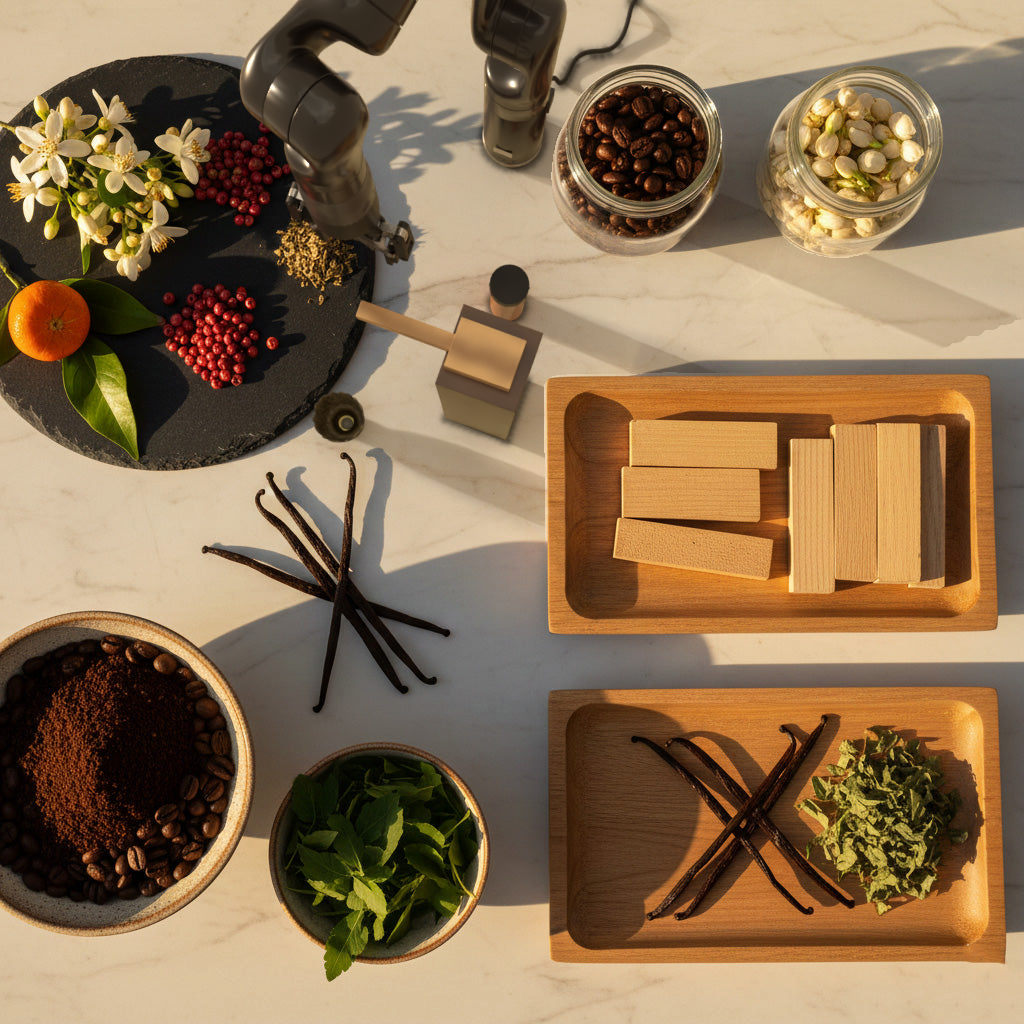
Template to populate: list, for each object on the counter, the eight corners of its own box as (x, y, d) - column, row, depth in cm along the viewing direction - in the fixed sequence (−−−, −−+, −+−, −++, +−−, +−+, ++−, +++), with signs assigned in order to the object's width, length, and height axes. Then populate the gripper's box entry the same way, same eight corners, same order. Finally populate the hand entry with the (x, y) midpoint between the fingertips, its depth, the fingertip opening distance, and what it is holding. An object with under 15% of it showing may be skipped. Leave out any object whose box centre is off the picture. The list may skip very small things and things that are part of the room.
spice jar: (496, 283, 125) (498, 262, 115) (528, 295, 125) (532, 274, 115) (485, 314, 125) (486, 295, 115) (516, 326, 125) (520, 308, 115)
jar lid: (497, 262, 116) (497, 258, 114) (534, 276, 116) (535, 272, 114) (483, 299, 116) (483, 295, 114) (521, 312, 116) (521, 309, 114)
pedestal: (467, 358, 125) (463, 303, 94) (527, 380, 125) (543, 333, 94) (445, 418, 124) (434, 383, 94) (505, 440, 125) (515, 412, 94)
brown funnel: (365, 452, 124) (357, 447, 116) (318, 442, 124) (307, 436, 116) (375, 405, 124) (368, 396, 116) (328, 395, 124) (318, 386, 116)
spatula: (369, 287, 93) (366, 281, 91) (525, 344, 94) (527, 340, 92) (351, 335, 93) (348, 330, 91) (508, 392, 94) (509, 389, 92)
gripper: (415, 179, 83) (424, 237, 99) (284, 131, 82) (315, 197, 99) (391, 246, 83) (404, 293, 99) (259, 198, 82) (294, 254, 98)
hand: (359, 245), depth 99 cm, fingers open, 8 cm apart
